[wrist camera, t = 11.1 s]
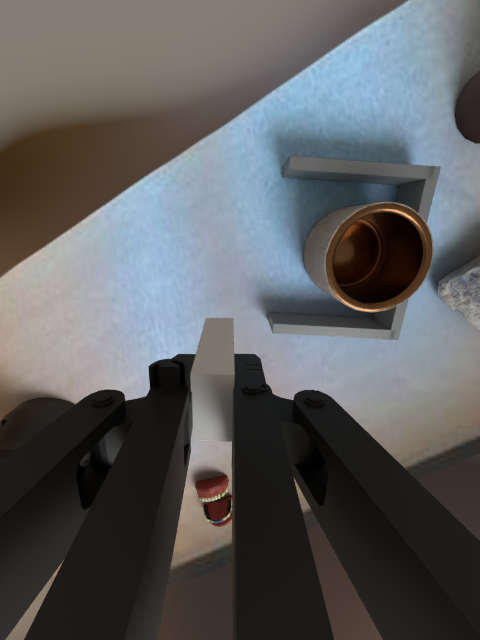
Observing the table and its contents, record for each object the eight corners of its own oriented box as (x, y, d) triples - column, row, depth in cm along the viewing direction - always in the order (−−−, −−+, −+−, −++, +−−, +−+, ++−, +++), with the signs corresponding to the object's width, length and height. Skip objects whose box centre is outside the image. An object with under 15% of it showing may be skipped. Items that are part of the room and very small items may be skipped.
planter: (371, 191, 35) (419, 178, 26) (396, 272, 38) (447, 286, 29) (289, 231, 36) (307, 232, 27) (319, 306, 40) (344, 330, 30)
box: (268, 320, 40) (272, 333, 35) (283, 165, 34) (290, 155, 29) (379, 326, 40) (398, 339, 36) (412, 175, 35) (440, 166, 30)
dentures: (224, 491, 44) (237, 528, 46) (226, 468, 48) (237, 504, 50) (189, 497, 44) (203, 533, 47) (193, 474, 48) (207, 509, 51)
